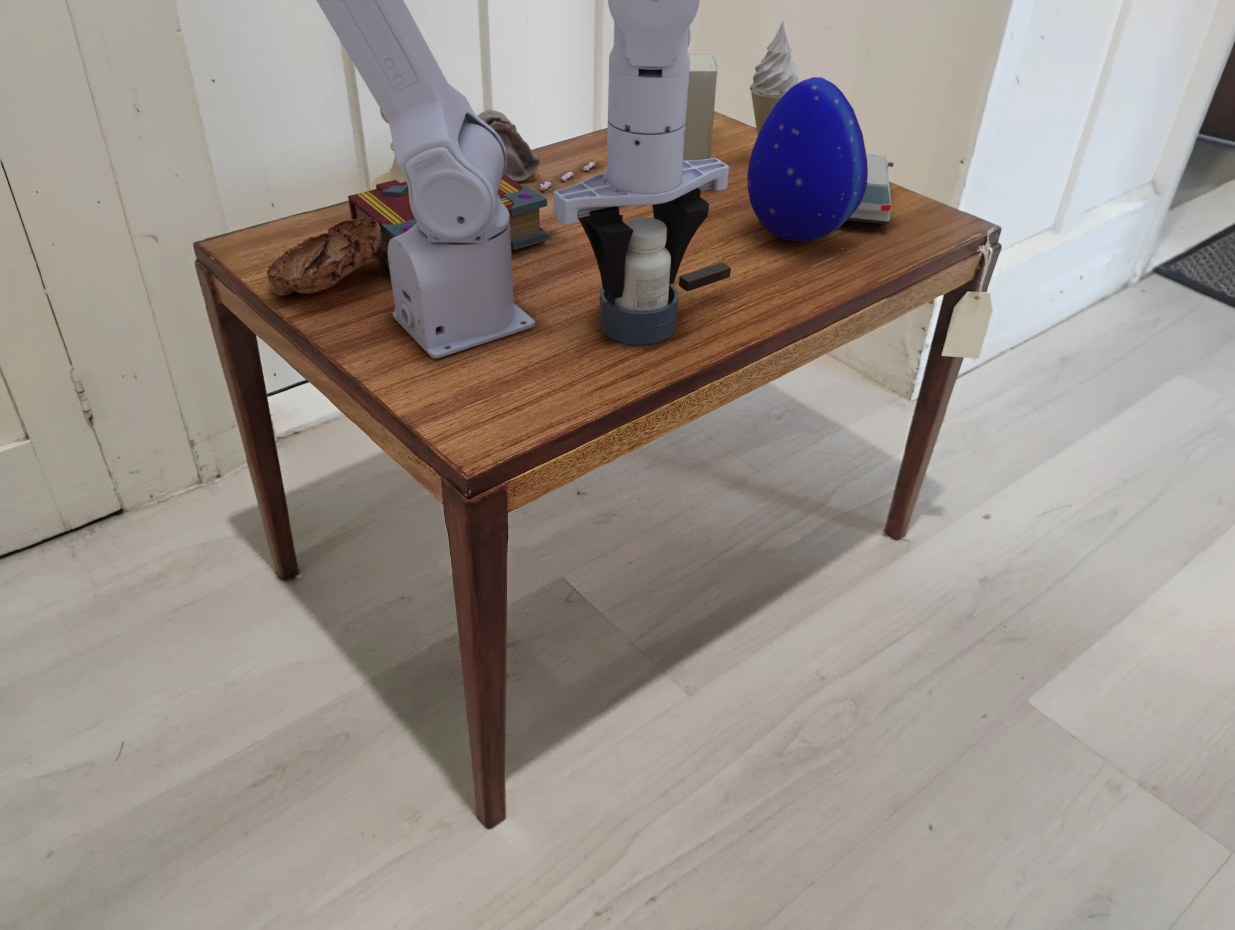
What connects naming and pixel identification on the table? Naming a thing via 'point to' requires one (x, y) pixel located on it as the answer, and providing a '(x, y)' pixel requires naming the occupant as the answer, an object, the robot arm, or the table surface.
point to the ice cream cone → (772, 77)
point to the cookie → (325, 257)
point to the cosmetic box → (700, 107)
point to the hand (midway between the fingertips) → (638, 285)
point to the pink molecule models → (566, 176)
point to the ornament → (808, 163)
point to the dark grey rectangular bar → (704, 276)
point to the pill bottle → (646, 267)
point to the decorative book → (397, 218)
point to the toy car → (875, 193)
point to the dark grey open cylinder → (638, 321)
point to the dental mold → (512, 146)
